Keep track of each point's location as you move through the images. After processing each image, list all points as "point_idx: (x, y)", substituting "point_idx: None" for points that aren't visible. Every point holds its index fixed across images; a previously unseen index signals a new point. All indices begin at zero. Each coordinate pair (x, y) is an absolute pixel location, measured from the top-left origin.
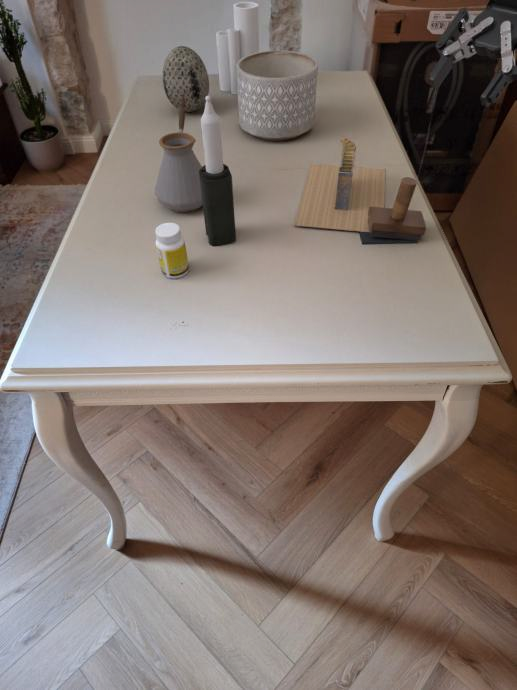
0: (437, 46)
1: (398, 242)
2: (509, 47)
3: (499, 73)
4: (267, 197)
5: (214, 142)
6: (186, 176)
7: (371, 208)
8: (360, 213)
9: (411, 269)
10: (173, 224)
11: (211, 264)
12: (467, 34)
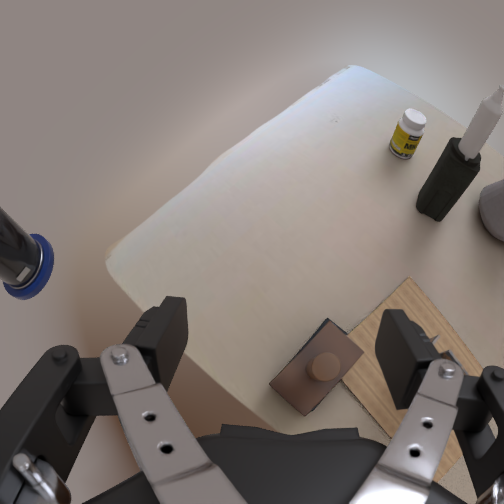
0: (492, 369)
1: (293, 358)
2: (123, 402)
3: (146, 345)
4: (474, 296)
5: (473, 118)
6: (502, 189)
7: (358, 349)
8: (379, 369)
9: (242, 324)
10: (421, 122)
11: (394, 173)
12: (434, 424)
